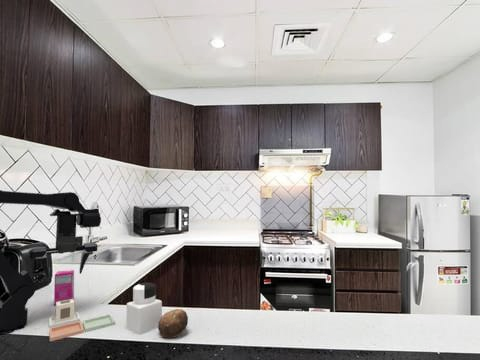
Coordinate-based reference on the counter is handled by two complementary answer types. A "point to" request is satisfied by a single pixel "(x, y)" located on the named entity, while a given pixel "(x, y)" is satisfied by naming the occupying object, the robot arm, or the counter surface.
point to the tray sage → (98, 322)
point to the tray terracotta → (66, 330)
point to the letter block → (64, 311)
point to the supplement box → (64, 286)
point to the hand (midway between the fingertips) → (64, 275)
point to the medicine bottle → (143, 309)
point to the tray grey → (54, 324)
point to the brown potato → (173, 323)
